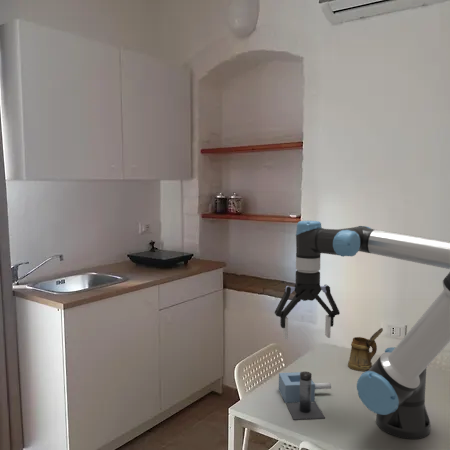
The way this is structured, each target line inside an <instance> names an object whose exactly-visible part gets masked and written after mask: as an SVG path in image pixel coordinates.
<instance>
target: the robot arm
mask: <svg viewBox="0 0 450 450" xmlns="http://www.w3.org/2000/svg"><path fill="white" fill-rule="evenodd" d="M295 244H296V245H295V249H296V251H295V252H296V253H295V270H296V271H295V285H294V286H289V285H285V287H284V292H283V295H282V296H281V299H280V301H279V302H278V305H277V306H276V308H275V310H274V314H275V316H276V317H279V319H280V321H279V322H280V324H279V325H280V327H281V328H282V329H283V334H282V335H283V338H284V339H285V340H288V338H289V337H288V336H289V335H288V334H289V318H288V315H289V314H290V312H291V311H292V310H293V309H294V308H295V307H296V306H297V305H298V303H300V302H301V301H303V302H304V301H305V302H306V301H310V302H311V301H314V300H316V301H317V302H318V304H319V305H320V306H321V307H322V308H323V310H324V311H325V312H326V313H327V314H325V323H324V324H325V326H324V329H325V330H324V333H325V334H324V335H325V336H326V338H328V339H330V338H331V327H334V324H335V323H334V319H335V317H336V316H339V315H340V309H339V308H338V305H337V304H336V301H335V299H334V297H333V295H332V294H331V287H330V285H328V284H324V285H321V272H320V271H321V254H326V255H335V256H341V257H355V256H356V255H357V254H358V252H360V253H366V254H370V255H371V254H372V255H377V256H381V257H387V258H392V259H397V260H402V261H406V262H412V263H417V264H422V265H427V266H432V267H435V268H436V267H437V268H442V269H445V270H450V240H449V241H448V240H444V239H443V240H442V239H437V238H431V237H425V236H424V237H423V236H417V235H412V234H406V233H399V232H393V231H387V230H382V229H381V230H380V229H375V228H371V227H369V226H366V225H358V226H354V227H347V228H339V229H334V228H333V229H332V228H324V227H323V228H322V223H321V221H318V220H300V221H298V222H297V224H296V234H295ZM442 286H443V289H442V291H441V292H440V294H439V295H438V296H437V297H436V298H435V300H434V301H433V302H432V303H431V305H429V307H428V308H427V309H426V310H425V312H424V313H423V314H422V316H420V318H419V319H418V320H417V321H416V323H415V324H414V325H413V326H412V327H411V328H410V330H409V331H408V332H407V333H406V334H405V336H403V338H402V339H401V340H400V341H399V343H398V344H397V345H396V347H394V346H392V347H387V348H385V350H384V352H383V353H382V354H380V356H379V357H378V359H376V361H375V362H374V363H373V364H372V367H371V368H370V369H369V370H368V371H363V372H362V373H361V374H360V376H359V377H358V379H357V382H356V390H357V394H358V397H359V399H360V401H361V402H362V404H363V405H364V406H365V407H366V408H367V409H368V410H369V411H370V412H372V413H374V414H375V416H376V417H375V418H376V419H375V422H376V424H377V426H378V427H379V428H380V429H381V430H382V431H384V432H386V433H387V434H390V435H392V436H395V437H397V438H402V439H407V440H408V439H411V440H413V439H414V440H417V439H422V438H425V437H427V436H428V435H429V434H430V433H431V421H430V416H429V415H428V411H427V407H426V402H425V401H426V387H427V386H426V383H427V382H426V380H427V368H428V367H429V366H430V364H431V363H432V362H433V361H434V360H435V359H436V357H437V356H438V355H439V354H440V353H441V352H442V350H444V349H445V347H446V346H447V345H449V343H450V271H449V273H448V274H446V276H445V277H444V278H443V280H442ZM293 292H294V293H295V295H294V296H293V297H292V299H291V300H290V302H289V303H288V304H287V302H288V300H289V298H290V296H291V294H292V293H293ZM321 292H323V293H324V294H325V296H326V298H327V301H328V303H329V305H330V307H331V309H332V310H331V309H330V307H329V306H328V305H327V303H326V302H324V301H323V298H321V296H320V295H319V294H320V293H321ZM286 304H287V305H286Z"/></svg>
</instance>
